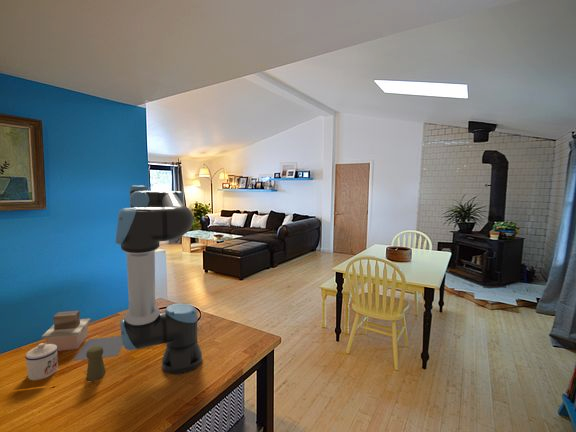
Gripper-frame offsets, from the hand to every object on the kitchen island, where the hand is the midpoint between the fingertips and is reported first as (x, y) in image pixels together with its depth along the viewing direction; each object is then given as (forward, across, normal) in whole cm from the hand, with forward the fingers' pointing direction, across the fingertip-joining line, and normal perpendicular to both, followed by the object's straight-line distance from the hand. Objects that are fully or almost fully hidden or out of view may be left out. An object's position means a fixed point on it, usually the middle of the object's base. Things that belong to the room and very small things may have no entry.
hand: (141, 260), depth 142 cm
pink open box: (+33, +13, -27) cm, 44 cm away
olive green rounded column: (+33, +38, -8) cm, 51 cm away
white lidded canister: (+33, +31, -27) cm, 53 cm away
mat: (+33, +19, -12) cm, 40 cm away
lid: (+26, +13, -27) cm, 39 cm away
